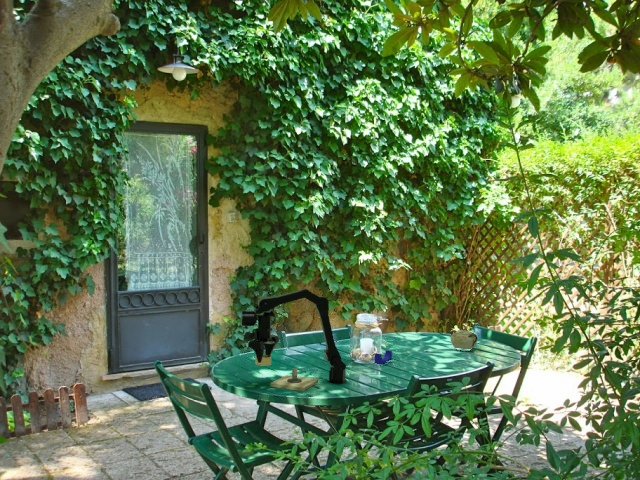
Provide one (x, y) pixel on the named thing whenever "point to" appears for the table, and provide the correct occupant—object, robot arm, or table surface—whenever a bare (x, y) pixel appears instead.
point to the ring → (264, 360)
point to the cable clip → (386, 358)
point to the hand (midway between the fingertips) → (263, 361)
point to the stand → (294, 382)
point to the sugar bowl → (463, 338)
